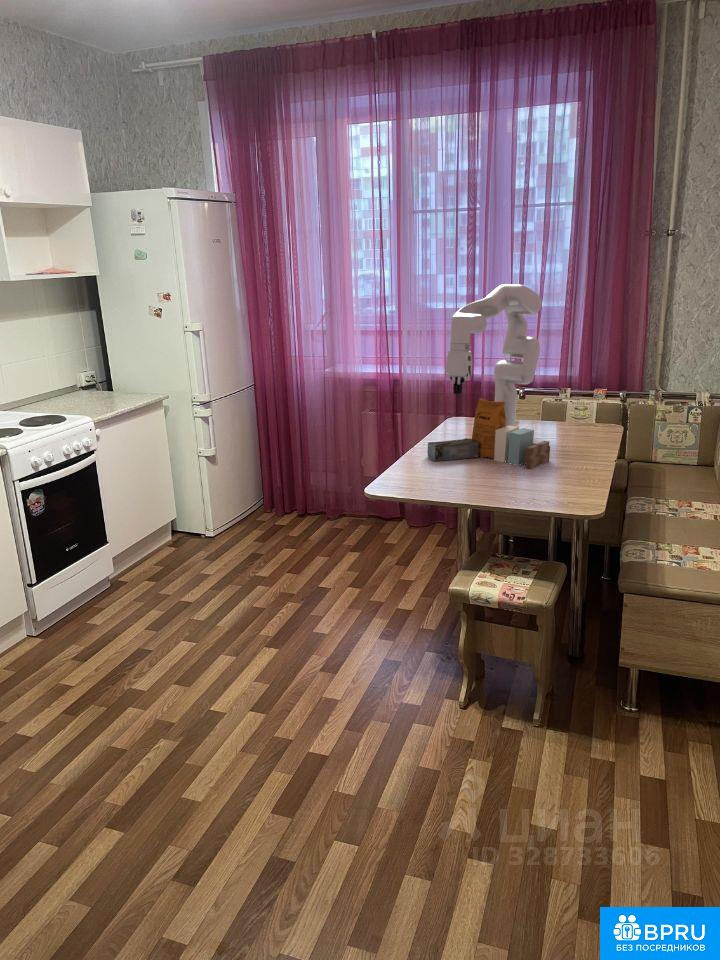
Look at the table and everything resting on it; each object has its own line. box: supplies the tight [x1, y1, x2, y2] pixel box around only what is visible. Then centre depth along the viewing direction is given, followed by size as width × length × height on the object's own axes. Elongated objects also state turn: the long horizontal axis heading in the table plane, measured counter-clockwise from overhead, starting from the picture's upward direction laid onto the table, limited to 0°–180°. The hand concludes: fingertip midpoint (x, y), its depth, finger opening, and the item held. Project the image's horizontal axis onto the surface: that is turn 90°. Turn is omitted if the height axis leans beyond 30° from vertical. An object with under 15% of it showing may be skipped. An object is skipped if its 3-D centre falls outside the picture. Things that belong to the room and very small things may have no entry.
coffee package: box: [471, 397, 506, 459], centre depth 288 cm, size 10×12×22 cm
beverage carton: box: [426, 437, 480, 462], centre depth 286 cm, size 8×19×7 cm, turn 109°
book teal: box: [507, 427, 535, 466], centre depth 280 cm, size 10×4×12 cm, turn 137°
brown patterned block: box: [523, 440, 551, 470], centre depth 282 cm, size 15×20×8 cm
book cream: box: [493, 425, 520, 463], centre depth 284 cm, size 10×4×12 cm, turn 141°
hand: (457, 393), depth 294 cm, fingers closed
